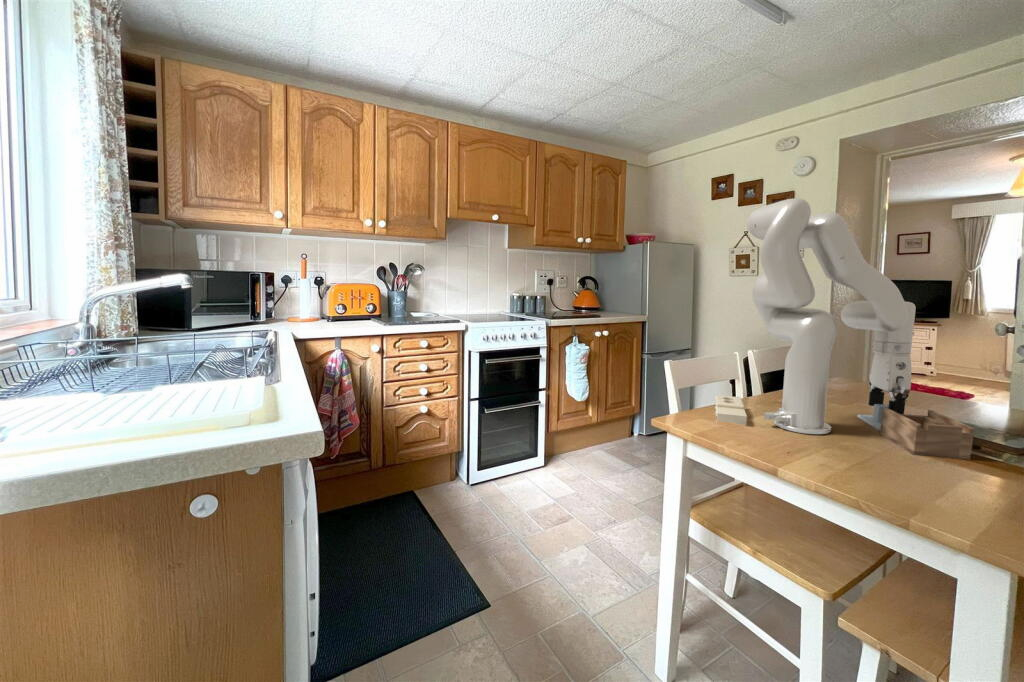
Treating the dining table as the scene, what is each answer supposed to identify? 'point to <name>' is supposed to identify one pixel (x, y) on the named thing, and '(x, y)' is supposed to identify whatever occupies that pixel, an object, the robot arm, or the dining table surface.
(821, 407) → the robot arm
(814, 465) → the dining table surface
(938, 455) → the box
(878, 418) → the lid
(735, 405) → the electrical outlet
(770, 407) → the dining table surface
